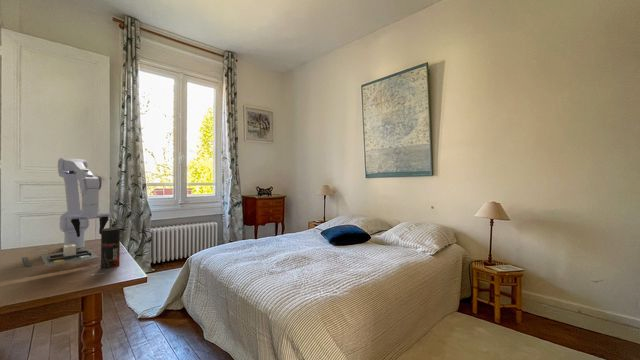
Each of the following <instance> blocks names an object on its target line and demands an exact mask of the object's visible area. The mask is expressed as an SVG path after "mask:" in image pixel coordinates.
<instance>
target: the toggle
mask: <svg viewBox="0 0 640 360" xmlns="http://www.w3.org/2000/svg"><path fill="white" fill-rule="evenodd" d="M76 250H77V249H76V245H75V244H73V245H71V244H70V245H65V246H64V245H63V251H62V252H63V256H64V257H65V256H71V255H76Z"/></svg>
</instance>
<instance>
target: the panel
mask: <svg viewBox="0 0 640 360" xmlns="http://www.w3.org/2000/svg"><path fill="white" fill-rule="evenodd" d="M40 258H41V259H42V261H43V262H44V265H45V267H51V266H55V265H60V264H61V265H62V264H67V263H72V262H79V261H85V260H92V259H97V258H99V256H98V255H97V254H96V252H94V251H92V250H91V249H90V248H89V247H88V248H82V249H81V248H80V249H76V255H71V256H65V257H64V256H63V251H62V252H55V253H48V254H47V253H46V254H40Z"/></svg>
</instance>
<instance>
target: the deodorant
mask: <svg viewBox="0 0 640 360" xmlns="http://www.w3.org/2000/svg"><path fill="white" fill-rule="evenodd" d="M120 241H121V228H120V227H106V228H105V227H104V229H102V230H101V234H100V269H103V270H107V269H114V268H117V267H120V258H121V257H120V256H121V255H120V254H121V253H120V250H121V249H120V246H121V244H120V243H121V242H120Z"/></svg>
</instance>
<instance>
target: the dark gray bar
mask: <svg viewBox="0 0 640 360" xmlns="http://www.w3.org/2000/svg"><path fill="white" fill-rule="evenodd" d="M22 261H23V263H24V266H25V268H28V267H31V266H32V264H31V262H30V260H29V257H28V256H24V257H22Z"/></svg>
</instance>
